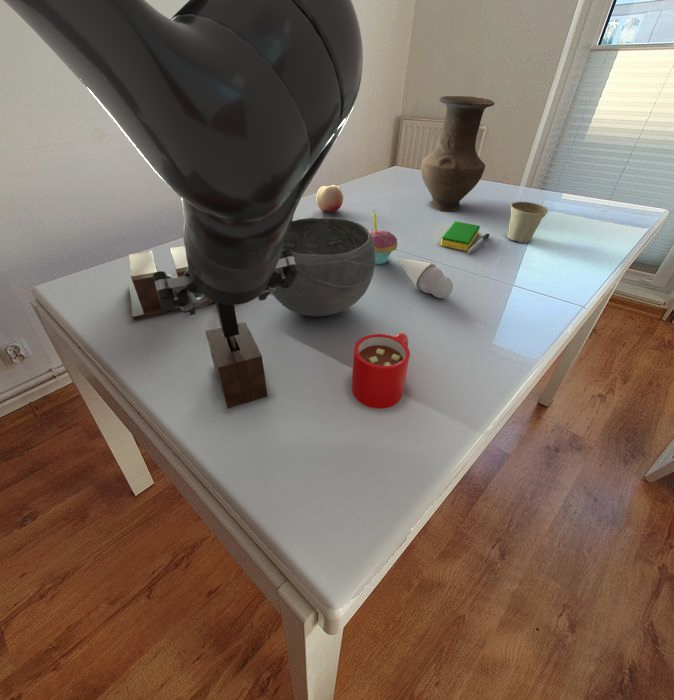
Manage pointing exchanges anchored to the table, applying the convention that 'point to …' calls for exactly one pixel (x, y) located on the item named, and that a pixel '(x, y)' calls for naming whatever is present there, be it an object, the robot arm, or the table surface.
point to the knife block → (238, 366)
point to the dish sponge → (460, 236)
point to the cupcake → (382, 243)
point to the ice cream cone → (427, 277)
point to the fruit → (329, 198)
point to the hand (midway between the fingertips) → (226, 299)
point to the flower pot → (525, 220)
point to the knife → (478, 243)
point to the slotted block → (151, 282)
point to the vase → (455, 153)
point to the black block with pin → (228, 322)
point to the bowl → (327, 265)
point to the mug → (380, 369)
